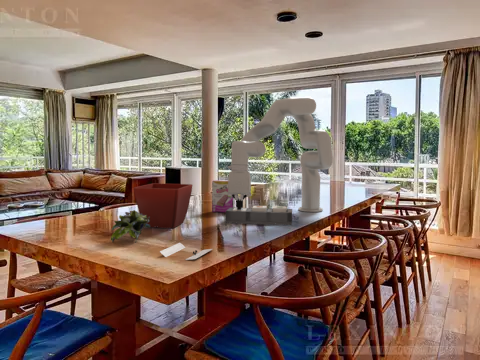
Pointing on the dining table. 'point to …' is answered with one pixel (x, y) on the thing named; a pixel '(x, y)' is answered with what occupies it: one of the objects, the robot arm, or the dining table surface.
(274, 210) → the key sage
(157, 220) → the plant pot
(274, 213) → the grey button panel
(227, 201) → the candy bar box
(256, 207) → the key terracotta
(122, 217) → the green leaves
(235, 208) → the key slate
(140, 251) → the dining table surface
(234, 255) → the dining table surface
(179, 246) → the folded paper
